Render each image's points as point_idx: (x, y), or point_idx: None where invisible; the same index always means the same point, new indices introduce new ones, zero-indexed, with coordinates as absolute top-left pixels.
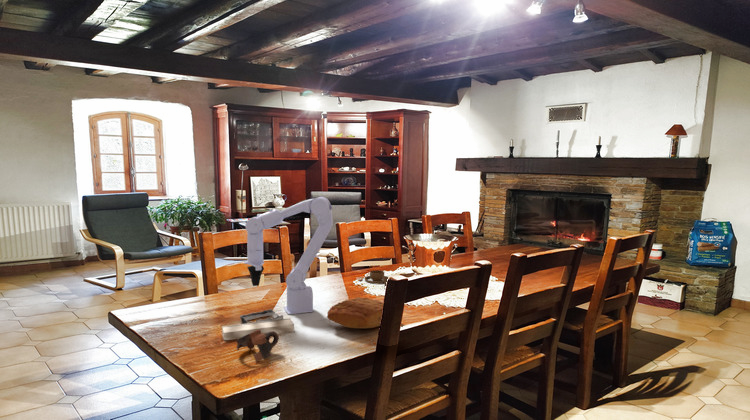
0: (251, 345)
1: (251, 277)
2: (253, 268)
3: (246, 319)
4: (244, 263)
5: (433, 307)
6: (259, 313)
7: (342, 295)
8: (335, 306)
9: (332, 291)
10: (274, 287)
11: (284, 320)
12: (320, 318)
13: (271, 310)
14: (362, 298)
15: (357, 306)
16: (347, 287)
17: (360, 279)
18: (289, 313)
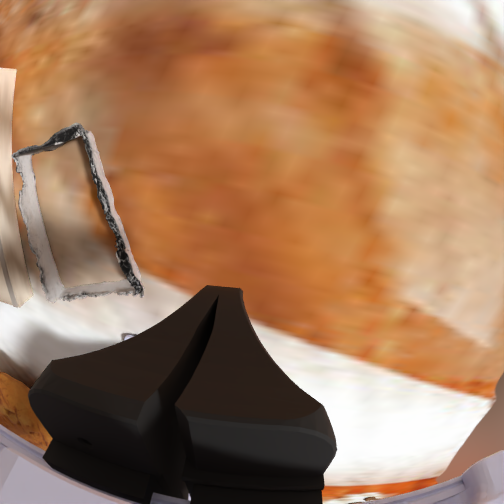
0: None
1: (167, 324)
2: (48, 431)
3: (98, 157)
4: (46, 478)
5: None
6: (112, 227)
7: None
8: (1, 406)
9: (331, 471)
10: (488, 360)
11: (5, 285)
12: None
13: (142, 290)
14: None
15: (9, 428)
16: (340, 487)
17: (374, 498)
18: (124, 339)
